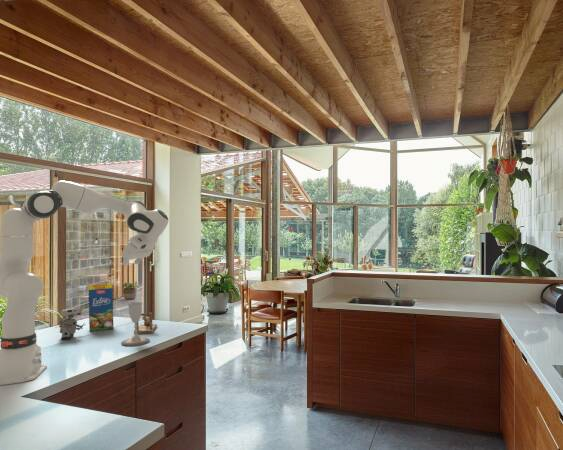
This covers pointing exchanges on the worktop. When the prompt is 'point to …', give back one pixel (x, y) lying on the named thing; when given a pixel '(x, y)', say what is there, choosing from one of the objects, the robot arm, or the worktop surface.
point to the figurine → (69, 322)
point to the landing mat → (129, 343)
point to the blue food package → (100, 307)
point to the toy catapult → (146, 325)
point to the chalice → (135, 317)
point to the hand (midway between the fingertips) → (130, 264)
